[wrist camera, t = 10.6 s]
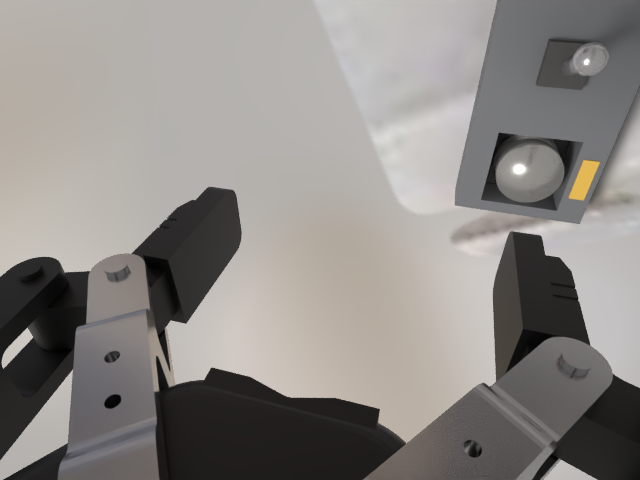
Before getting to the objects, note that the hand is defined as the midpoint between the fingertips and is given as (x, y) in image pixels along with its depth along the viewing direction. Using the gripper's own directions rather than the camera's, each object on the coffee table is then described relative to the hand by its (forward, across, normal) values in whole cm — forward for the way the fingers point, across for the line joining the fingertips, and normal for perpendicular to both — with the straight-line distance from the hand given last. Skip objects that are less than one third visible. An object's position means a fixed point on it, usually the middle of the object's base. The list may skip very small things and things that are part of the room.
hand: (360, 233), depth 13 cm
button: (+23, -8, +8) cm, 26 cm away
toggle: (+20, -8, 0) cm, 21 cm away
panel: (+24, -8, 0) cm, 25 cm away
